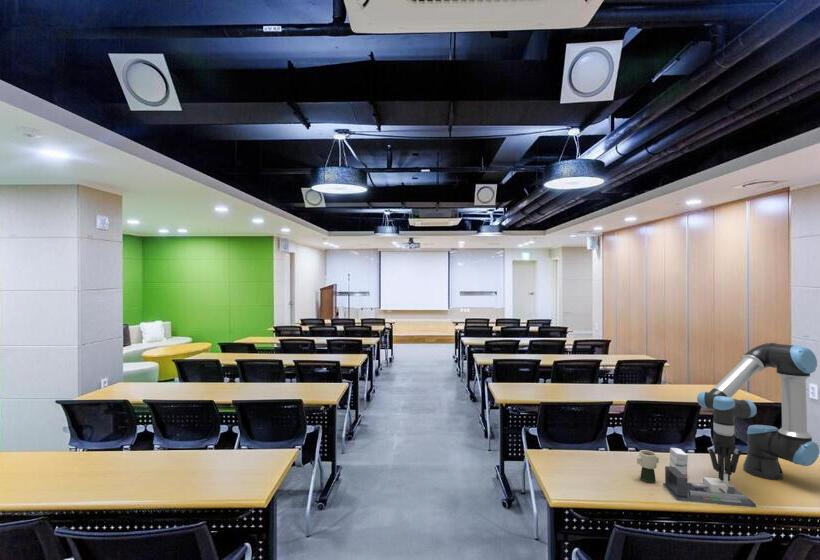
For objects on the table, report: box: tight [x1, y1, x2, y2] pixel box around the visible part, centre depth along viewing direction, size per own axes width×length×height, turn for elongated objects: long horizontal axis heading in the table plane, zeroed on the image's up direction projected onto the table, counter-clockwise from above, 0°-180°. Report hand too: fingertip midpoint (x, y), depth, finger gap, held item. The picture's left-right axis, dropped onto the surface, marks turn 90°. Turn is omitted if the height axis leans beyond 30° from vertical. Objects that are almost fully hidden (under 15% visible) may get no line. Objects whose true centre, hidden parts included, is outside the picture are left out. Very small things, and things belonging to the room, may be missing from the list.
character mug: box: [636, 449, 660, 483], centre depth 198 cm, size 11×7×13 cm, turn 97°
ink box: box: [669, 447, 689, 478], centre depth 204 cm, size 9×5×12 cm, turn 168°
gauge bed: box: [662, 465, 757, 508], centre depth 184 cm, size 30×14×9 cm, turn 81°
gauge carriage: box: [691, 476, 727, 494], centre depth 182 cm, size 12×11×5 cm
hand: (724, 487), depth 183 cm, fingers closed
